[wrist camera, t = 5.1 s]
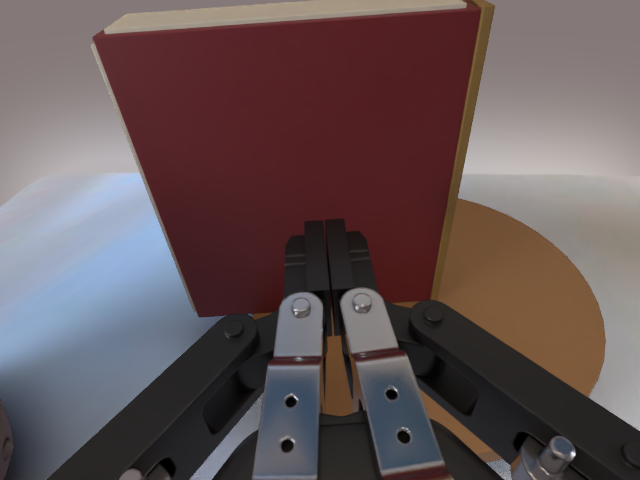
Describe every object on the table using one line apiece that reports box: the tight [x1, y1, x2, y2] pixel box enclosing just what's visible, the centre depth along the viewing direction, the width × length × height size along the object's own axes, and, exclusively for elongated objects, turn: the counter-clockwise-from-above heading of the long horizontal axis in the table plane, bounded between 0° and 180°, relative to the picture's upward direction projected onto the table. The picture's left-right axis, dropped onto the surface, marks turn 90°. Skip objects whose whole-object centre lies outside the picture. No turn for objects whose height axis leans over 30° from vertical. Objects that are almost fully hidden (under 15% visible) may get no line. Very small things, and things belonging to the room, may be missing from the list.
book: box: [91, 0, 606, 462], centre depth 20 cm, size 23×20×16 cm
